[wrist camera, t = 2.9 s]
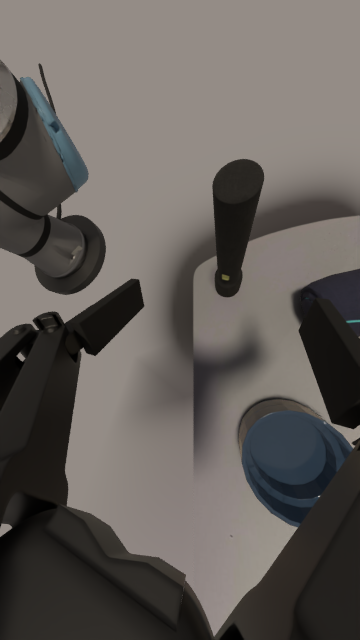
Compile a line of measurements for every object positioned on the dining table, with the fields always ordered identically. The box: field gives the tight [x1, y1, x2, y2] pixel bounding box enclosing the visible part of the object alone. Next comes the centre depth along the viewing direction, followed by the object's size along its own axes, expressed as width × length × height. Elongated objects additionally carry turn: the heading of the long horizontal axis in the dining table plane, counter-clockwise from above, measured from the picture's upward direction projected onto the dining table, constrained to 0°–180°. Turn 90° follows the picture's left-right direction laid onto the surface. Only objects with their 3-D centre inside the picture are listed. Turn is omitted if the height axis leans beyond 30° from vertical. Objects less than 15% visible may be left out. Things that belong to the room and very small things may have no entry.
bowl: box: [239, 399, 353, 527], centre depth 26 cm, size 15×15×6 cm
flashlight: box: [213, 159, 264, 297], centre depth 24 cm, size 5×24×5 cm
